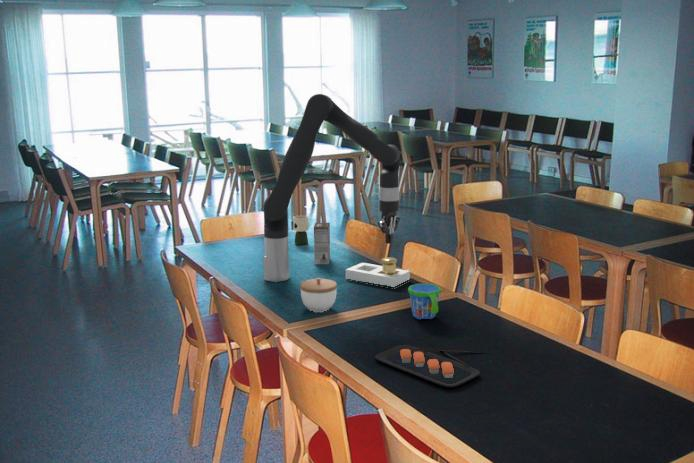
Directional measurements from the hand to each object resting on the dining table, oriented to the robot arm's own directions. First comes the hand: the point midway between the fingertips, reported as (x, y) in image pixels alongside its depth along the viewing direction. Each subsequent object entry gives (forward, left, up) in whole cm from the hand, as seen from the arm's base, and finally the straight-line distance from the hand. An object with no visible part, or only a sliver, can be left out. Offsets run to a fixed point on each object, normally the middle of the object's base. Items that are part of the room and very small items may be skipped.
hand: (389, 243), depth 277 cm
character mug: (+29, +65, -16) cm, 73 cm away
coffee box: (+10, +39, -16) cm, 43 cm away
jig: (0, +5, -16) cm, 16 cm away
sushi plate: (-56, -52, -16) cm, 78 cm away
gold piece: (0, 0, -16) cm, 16 cm away
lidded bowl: (-40, +4, -16) cm, 43 cm away
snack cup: (-27, -30, -16) cm, 43 cm away
